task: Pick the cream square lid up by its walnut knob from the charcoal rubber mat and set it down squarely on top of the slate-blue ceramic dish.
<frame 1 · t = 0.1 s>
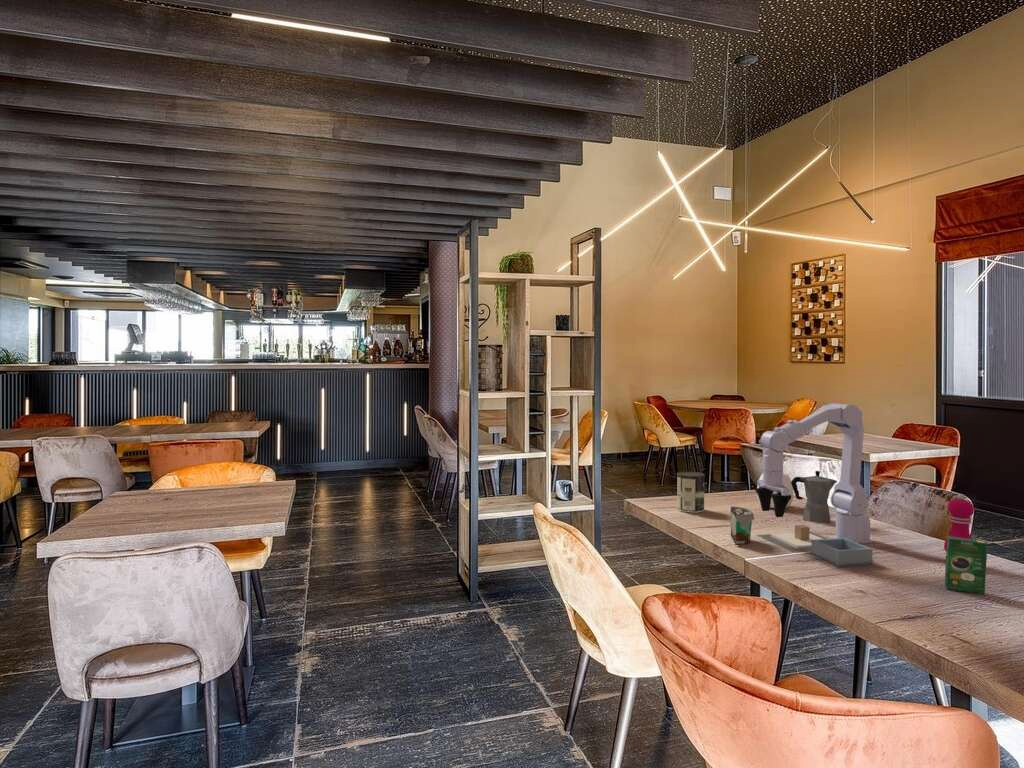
hand: (772, 513, 190), 10 cm above the table, tool pointing down, fingers open, 7 cm apart
coffeepot: (813, 520, 220), on the table
coffee can: (690, 510, 235), on the table
lid: (801, 541, 193), resting on mat
coffee box: (964, 591, 153), on the table
white vase: (774, 507, 240), on the table
dish: (841, 559, 177), on the table
mat: (801, 542, 193), on the table
food container: (743, 542, 193), on the table
pepper mill: (959, 564, 173), on the table
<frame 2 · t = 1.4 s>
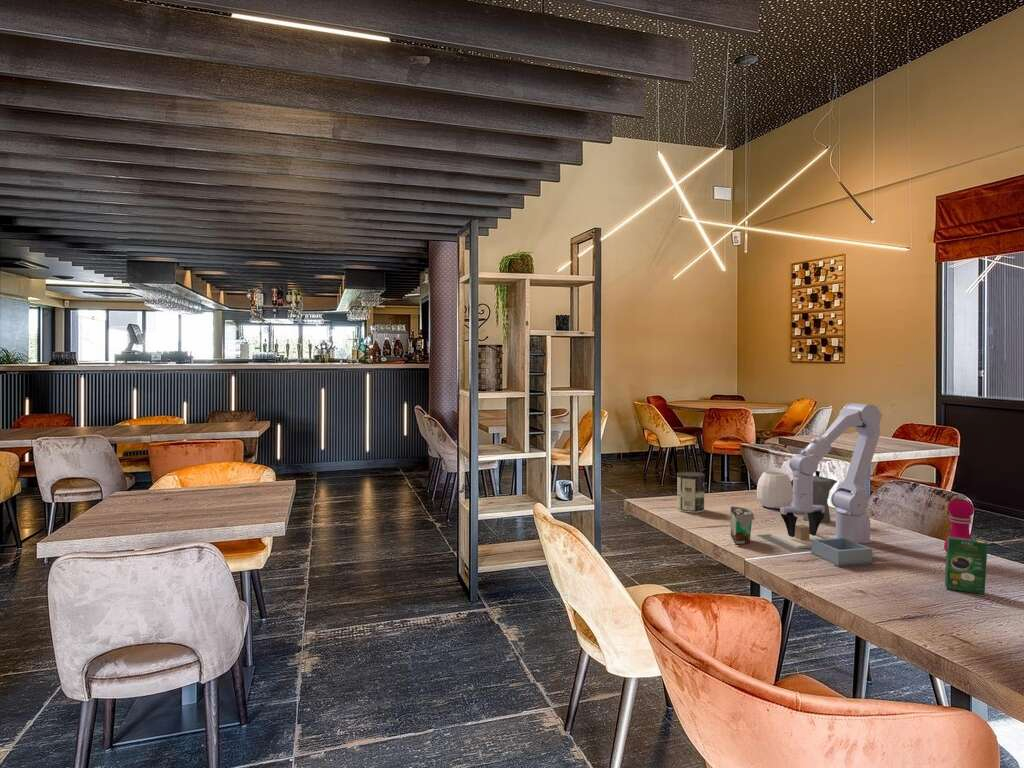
hand: (802, 535, 193), 2 cm above the table, tool pointing down, fingers open, 7 cm apart
nothing on the table moved.
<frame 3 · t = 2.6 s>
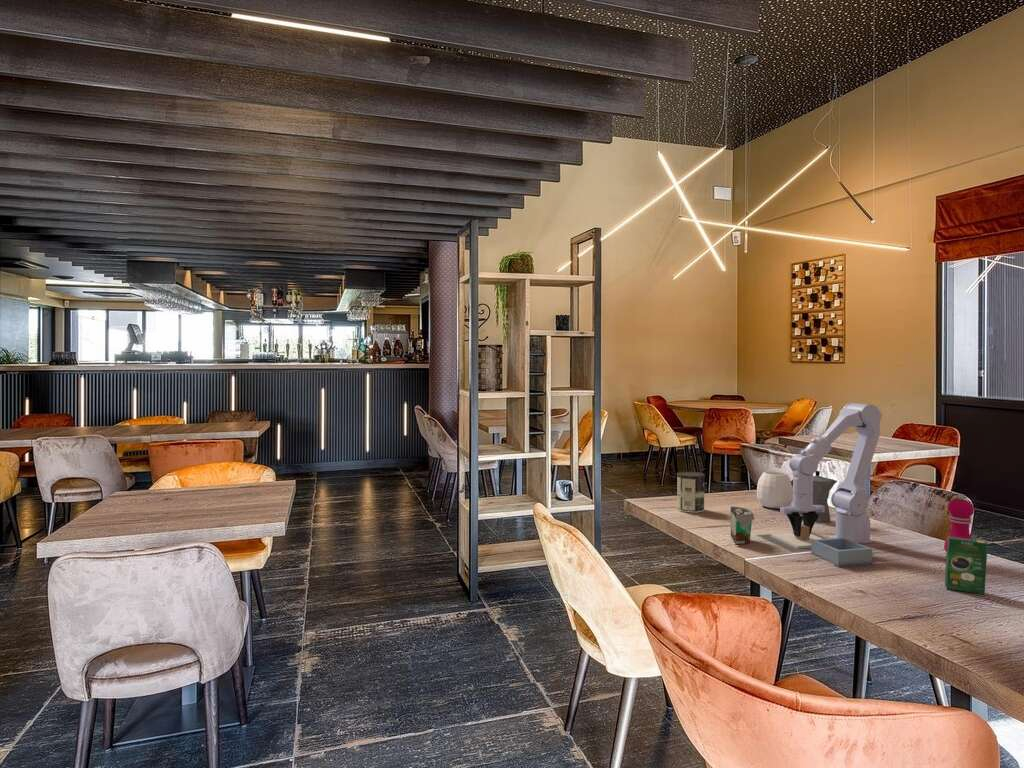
hand: (802, 535, 193), 2 cm above the table, tool pointing down, fingers closed on lid, 3 cm apart
lid: (801, 541, 193), resting on mat, touching gripper
everything else where it was.
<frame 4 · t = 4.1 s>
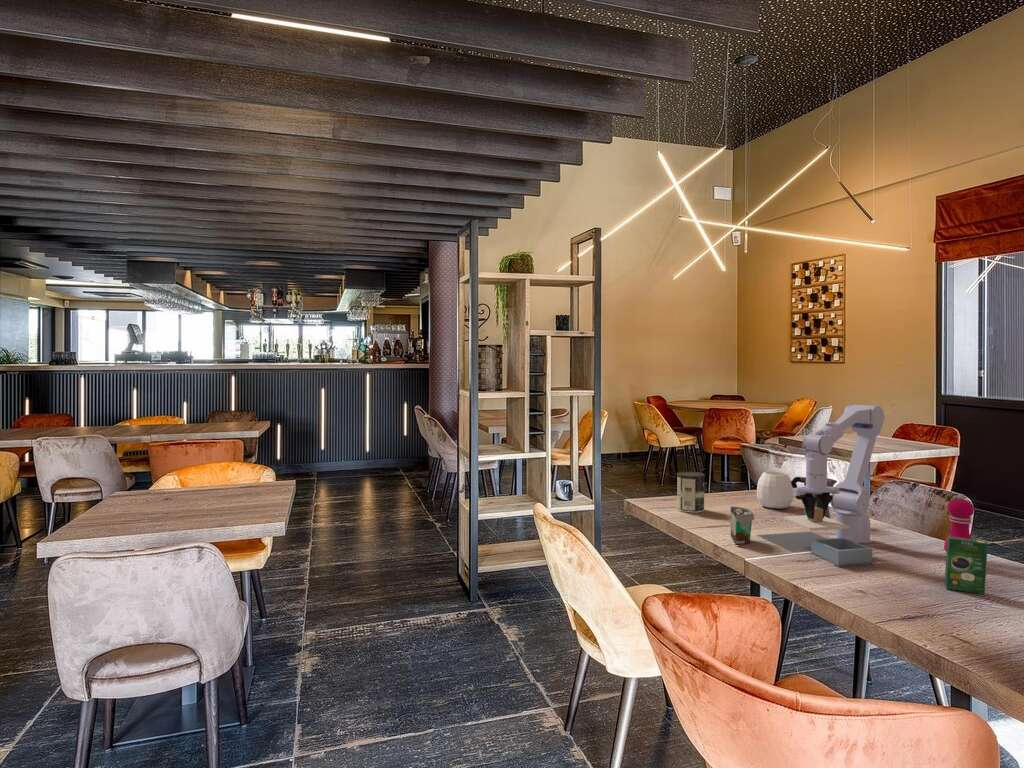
hand: (815, 517, 187), 9 cm above the table, tool pointing down, fingers closed on lid, 3 cm apart
lid: (815, 523, 187), point 8 cm above the table, touching gripper
everything else where it was.
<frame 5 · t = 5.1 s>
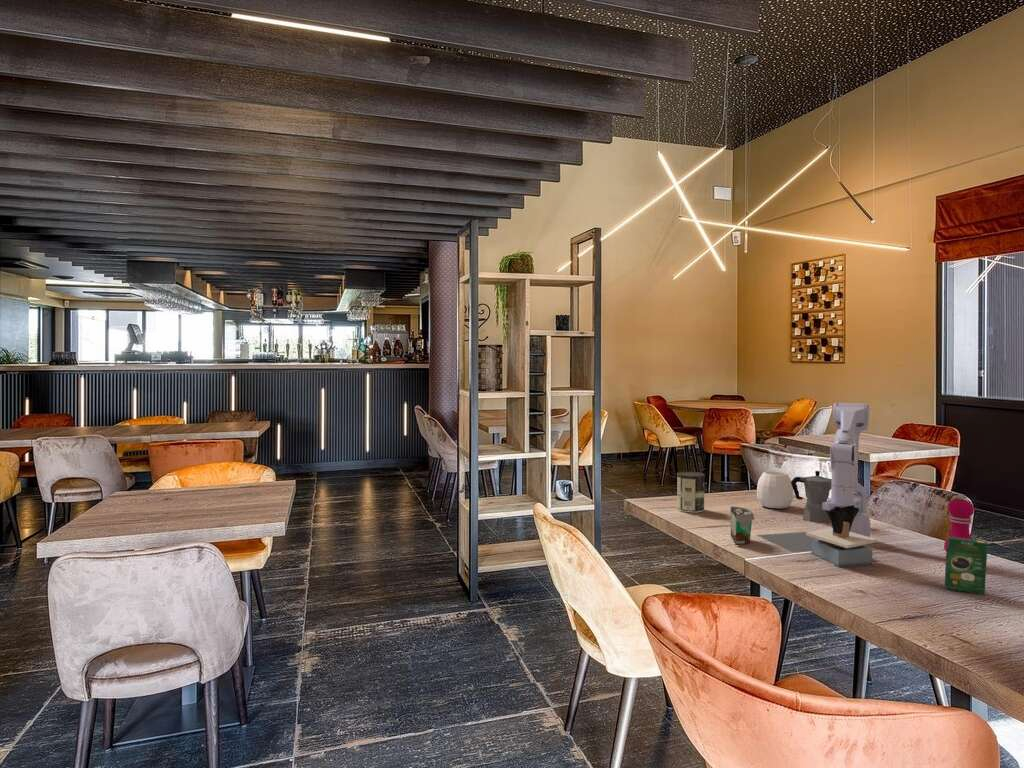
hand: (841, 532, 176), 8 cm above the table, tool pointing down, fingers closed on lid, 3 cm apart
lid: (840, 538, 176), point 6 cm above the table, touching gripper
everything else where it was.
when the fingers open (7 cm above the table, at t = 5.9 s): lid stays where it is, resting on dish.
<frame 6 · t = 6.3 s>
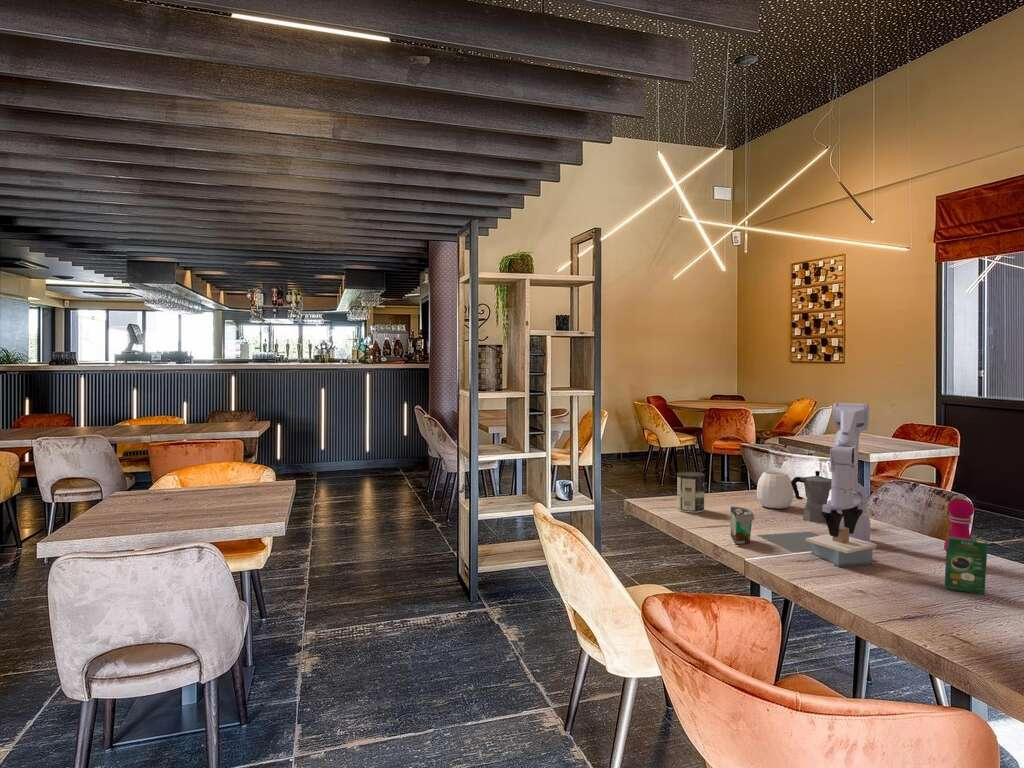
hand: (841, 534, 176), 7 cm above the table, tool pointing down, fingers open, 6 cm apart
lid: (840, 543, 177), point 4 cm above the table, touching dish
everything else where it was.
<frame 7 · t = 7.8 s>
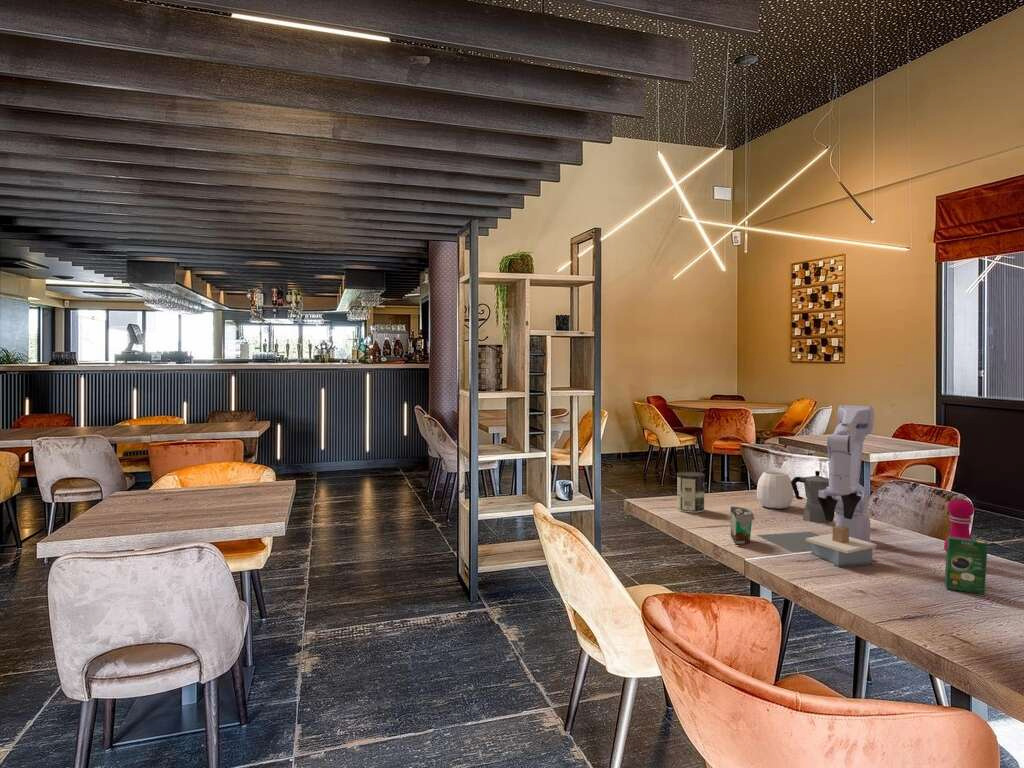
hand: (838, 519, 183), 10 cm above the table, tool pointing down, fingers open, 7 cm apart
nothing on the table moved.
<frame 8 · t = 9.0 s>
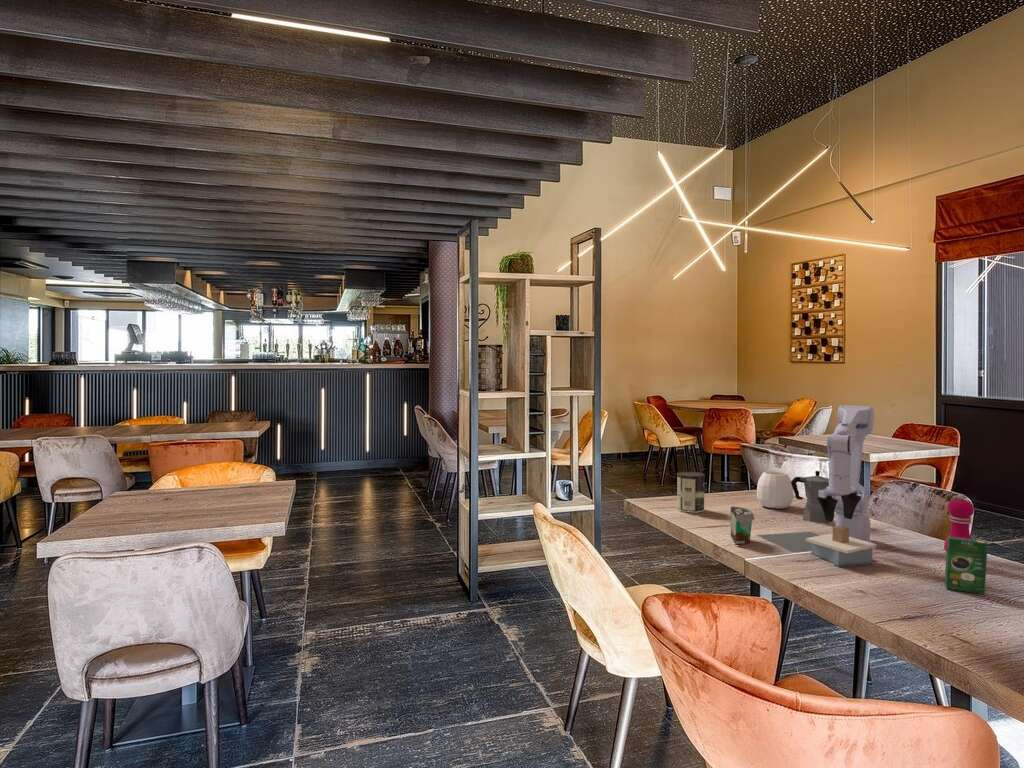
hand: (838, 519, 183), 10 cm above the table, tool pointing down, fingers open, 7 cm apart
nothing on the table moved.
at the end: lid 0.3 cm from the dish (horizontally); lid point 4.5 cm above the table; lid tilted 0° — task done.
